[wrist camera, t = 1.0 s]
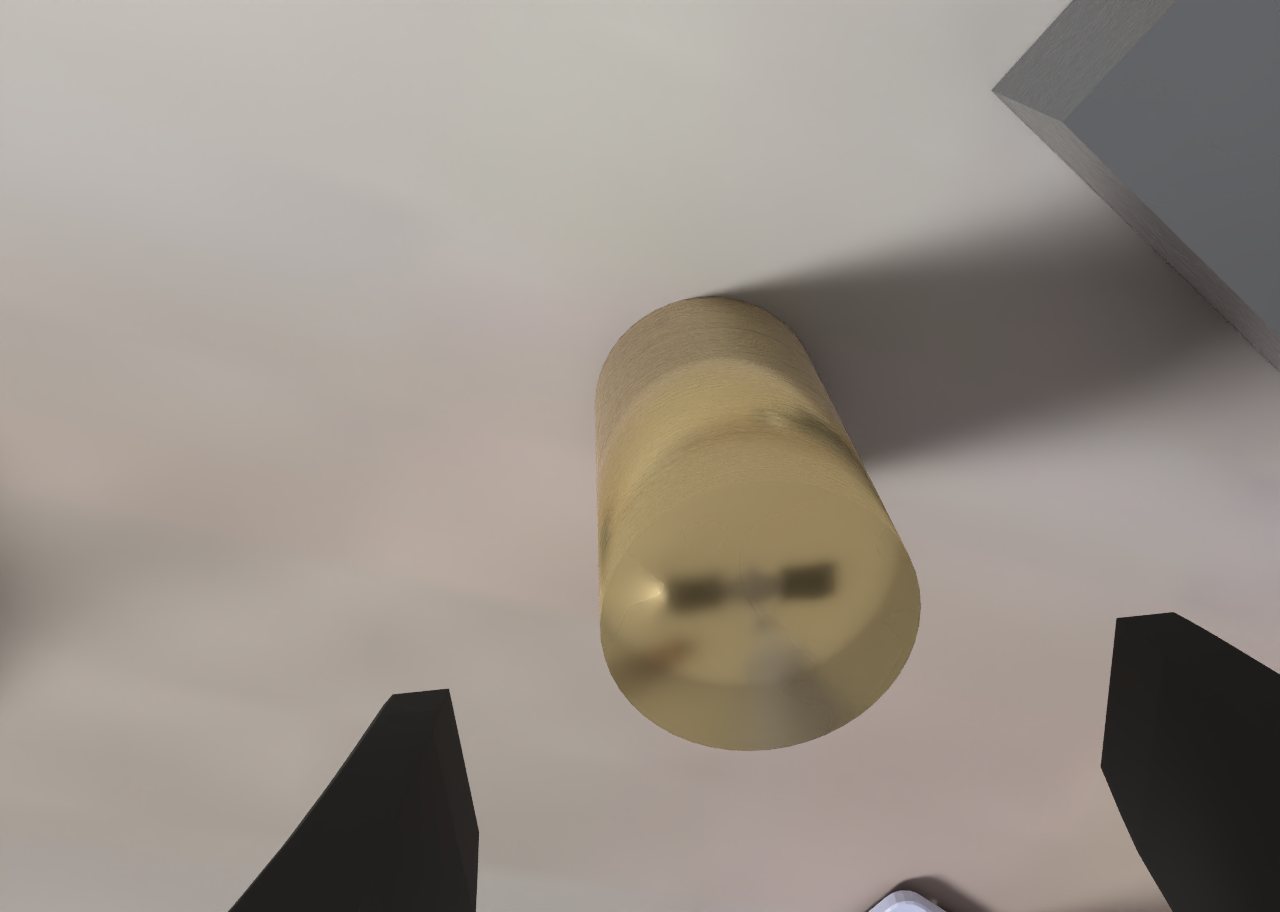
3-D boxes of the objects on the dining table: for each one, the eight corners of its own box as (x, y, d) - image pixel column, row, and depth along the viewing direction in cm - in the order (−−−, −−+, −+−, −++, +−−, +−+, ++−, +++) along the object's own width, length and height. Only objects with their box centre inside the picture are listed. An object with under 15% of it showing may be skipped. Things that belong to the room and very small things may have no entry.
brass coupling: (862, 387, 20) (987, 600, 14) (716, 539, 22) (770, 797, 15) (694, 250, 19) (749, 418, 13) (550, 419, 20) (534, 648, 14)
